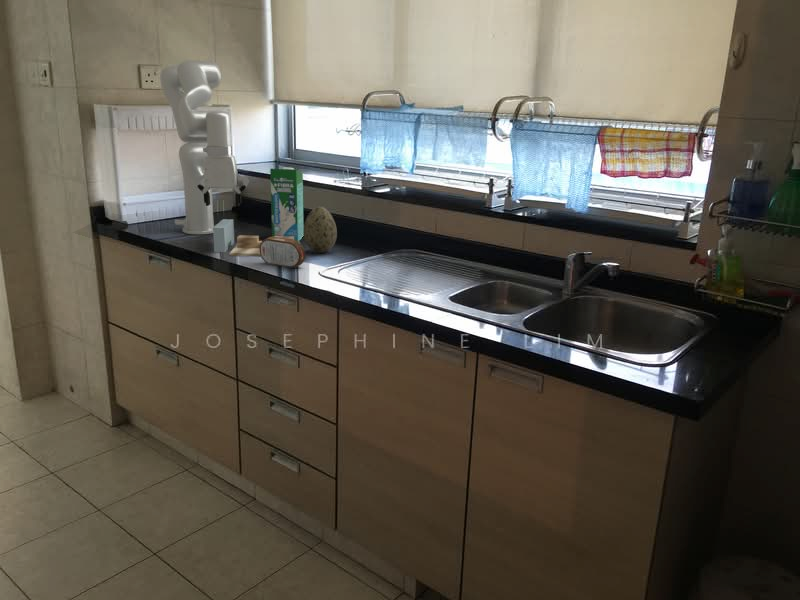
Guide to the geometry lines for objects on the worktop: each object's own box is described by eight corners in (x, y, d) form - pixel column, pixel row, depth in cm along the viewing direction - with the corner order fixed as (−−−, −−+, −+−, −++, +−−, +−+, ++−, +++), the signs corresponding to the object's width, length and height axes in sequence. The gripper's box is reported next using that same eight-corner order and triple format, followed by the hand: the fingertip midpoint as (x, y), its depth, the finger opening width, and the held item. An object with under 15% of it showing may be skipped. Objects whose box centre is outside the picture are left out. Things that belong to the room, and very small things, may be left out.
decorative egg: (307, 247, 229) (307, 203, 224) (339, 249, 228) (339, 204, 224) (300, 255, 219) (299, 208, 214) (333, 256, 218) (333, 210, 213)
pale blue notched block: (225, 252, 220) (224, 227, 217) (214, 252, 220) (213, 227, 217) (234, 242, 233) (233, 219, 231) (224, 242, 233) (222, 219, 230)
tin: (306, 267, 204) (305, 240, 202) (300, 270, 202) (299, 242, 199) (264, 261, 210) (263, 234, 208) (258, 263, 208) (257, 236, 205)
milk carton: (303, 236, 245) (302, 166, 238) (297, 242, 236) (296, 169, 229) (279, 235, 246) (277, 165, 238) (272, 240, 237) (270, 168, 230)
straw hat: (229, 255, 216) (229, 242, 215) (240, 242, 233) (240, 230, 232) (293, 256, 216) (292, 243, 215) (299, 244, 234) (299, 232, 232)
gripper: (189, 152, 213) (193, 206, 218) (245, 152, 213) (247, 207, 218) (195, 150, 220) (199, 203, 225) (249, 151, 221) (252, 204, 225)
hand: (223, 205), depth 221 cm, fingers open, 9 cm apart
